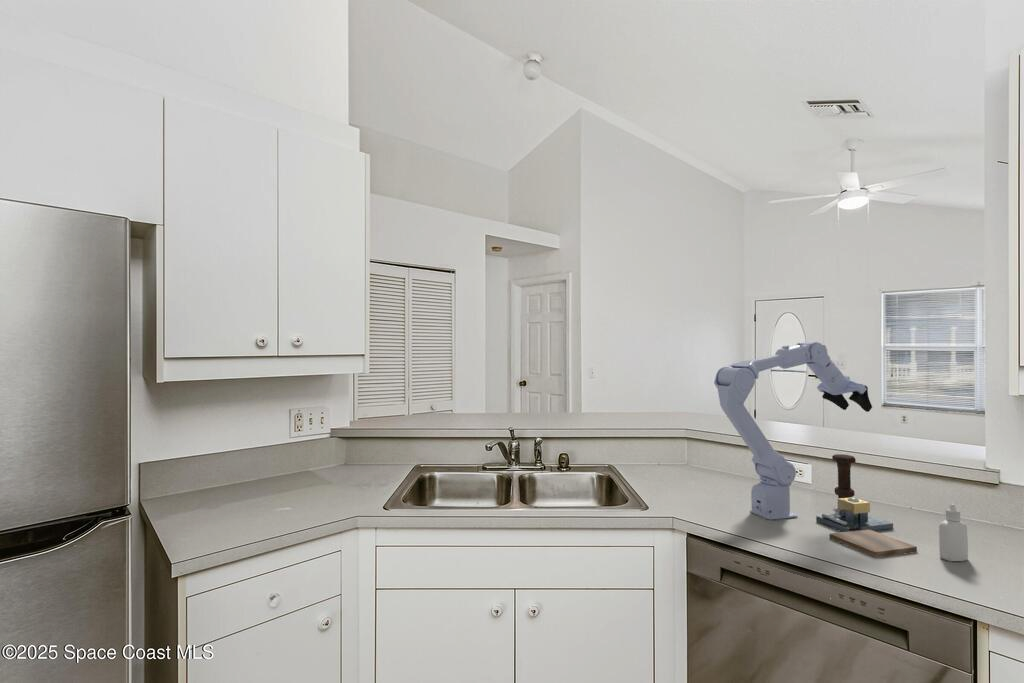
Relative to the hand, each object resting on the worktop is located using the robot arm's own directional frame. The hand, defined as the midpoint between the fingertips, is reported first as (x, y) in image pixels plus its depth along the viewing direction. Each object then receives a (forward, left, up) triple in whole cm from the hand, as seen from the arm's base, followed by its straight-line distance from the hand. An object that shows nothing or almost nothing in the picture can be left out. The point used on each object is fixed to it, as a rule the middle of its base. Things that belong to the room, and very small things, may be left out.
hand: (857, 408), depth 151 cm
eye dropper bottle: (-13, -34, -29) cm, 47 cm away
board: (-23, -23, -29) cm, 43 cm away
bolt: (-4, +2, -29) cm, 29 cm away
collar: (-15, -11, -25) cm, 31 cm away
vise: (-15, -11, -29) cm, 34 cm away
